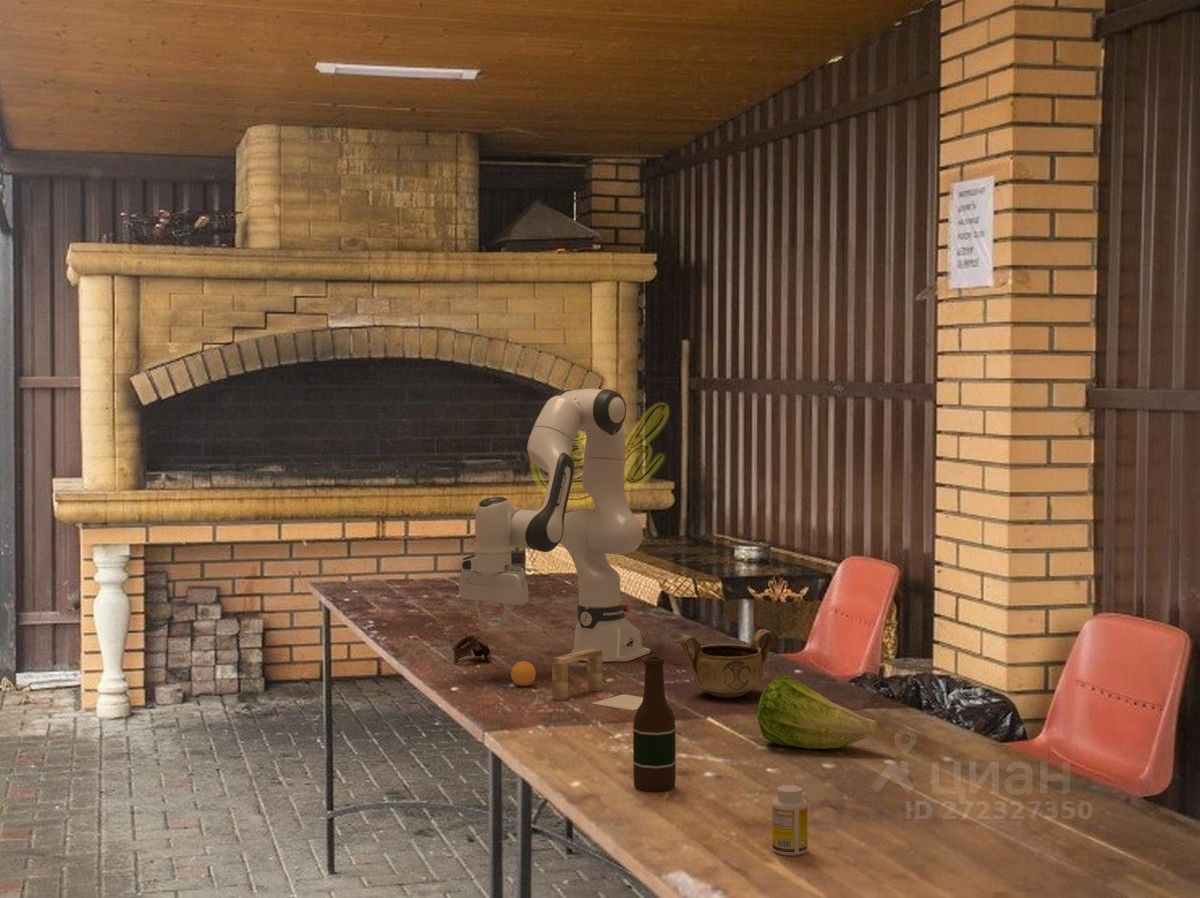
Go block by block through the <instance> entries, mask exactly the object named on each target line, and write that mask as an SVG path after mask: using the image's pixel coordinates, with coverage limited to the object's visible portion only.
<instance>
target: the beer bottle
mask: <svg viewBox="0 0 1200 898" xmlns="http://www.w3.org/2000/svg"><path fill="white" fill-rule="evenodd" d="M664 660H665V659H664V658H662V657H661V656H647V657H646V658H645V659H644V661H643V664H644V665H645V670H644V671H645V672H644V686H643V687H644V688H643V696H642V697H643V702H642V703H641V705H640V706H639V708H638V710H636V712H635V715H634V718H633V726H632V728H633V729H632V731H633V733H632V734H633V736H632V737H633V738H632V739H633V743H632V744H633V757H632V758H633V759H632V760H633V764H632V765H633V786H634V788H635V789H637V790H638V791H641V792H644V793H645V792H648V793H661V792H662V793H663V792H669V791H672V789H673V788H674V787H675V786H676V771H677V770H676V762H677V761H676V758H677V757H676V755H677V754H676V719H675V716H674V712H673V710H672V708H671V707H670V705H669V703H668V702H667V699H666V694H665V693H666V692H665V679H664V664H665V661H664Z"/></svg>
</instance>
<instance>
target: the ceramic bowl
mask: <svg viewBox="0 0 1200 898" xmlns="http://www.w3.org/2000/svg"><path fill="white" fill-rule="evenodd" d="M765 636H766V637H765ZM764 637H765V639H764V641H763V643H762V646H761V645H760V644H761V641H762V639H763V638H764ZM689 640H690V641H691V643H693V645H694V650H693V654H692V655H691V652H690V650H689V647H688V645H687V644H688V642H689ZM679 642H680V648H681V650H682V652H683V654H684V658H685V659H686V662H687V664H688V666H689V669H690V670H691V672H692V675H693V677H694V680H695V682H696V684H697V685H698V686H699V687H700V689H702V690H703V691H705V693H708V694H709V695H711V696H713V697H715V696H716V698H719V697H722V698H721V699H735V697H737V698H740V697H742V696H745V695H746V694H748V693H749V692H751V691H753V690H754V688H756V686H757V685H759V683H760V681H761V679H762V675H763V671H764V663H765V660H766V658H767V656H768V654H769V652H770V649H771V647H772V645H773V642H774V634H773V632H772V631H769V630H768V629H765V628H762V629H759V630H758V631H756V633H755V634H754V635H753V637H752V640H751V643H750V645H746V644H734V643H733V644H730V643H716V644H714V643H713V644H705V645H701V644H700V642H699V641H698V639H697V638H695V637H694V636H691V635H687V634H686V635H683V636H682V637H681V639H680V641H679Z"/></svg>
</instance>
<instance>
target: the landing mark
mask: <svg viewBox="0 0 1200 898" xmlns="http://www.w3.org/2000/svg"><path fill="white" fill-rule="evenodd" d="M642 702H643V696H636V695H631V694H620V695H616V696H613V697H609V698H604V699H602V700H598V701H594V702H591V705H595V706H596V705H597V706H601V707H602V706H603V707H608V708H615V709H620V710H628V711H633V712H634V711H637V710H638V708H639V706H640V705H641V703H642Z"/></svg>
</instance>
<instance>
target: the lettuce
mask: <svg viewBox="0 0 1200 898" xmlns="http://www.w3.org/2000/svg"><path fill="white" fill-rule="evenodd" d="M756 711H757V713H756V716H757V721H758V725H759V728H760V732H761V734H762V737H763V738H764V739H766V740H768V741H770V742H772V743H774V744H776V745H779V746H784V745H786V746H787V747H793V746H794V748H804V749H815V750H816V749H817V750H818V749H819V750H826V749H838V748H840V747H841V748H842V747H845V746H849V745H852V744H854V743H857V742H859V741H860V742H861V741H863V740H865V739H868V738H870V737H871V736H874V735H875V734H876V733H877V730H878V722H877V720H875V719H871V718H866V717H863V716H861V715H859V714H857V713H856V712H854V711H852V710H851V709H849V708H846V707H844V706H841V705H839V704H837V703H835V702H833V701H831V700H829V699H828V698H826V697H825V696H823V695H822V694H820V693H819V692H817V691H815V690H813V689H812V688H810V687H809V686H807V685H805V684H804V683H803V682H800V681H799V680H798V679H796V678H794V677H793V676H791V675H775V677H774V678H773V679H772V680H771V681H770V682H769V683H768V685H767V686H766V687H765V688H764V690H763V692H762V693H761V694H760V698H759V701H758V706H757V710H756ZM786 746H785V747H786Z"/></svg>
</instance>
